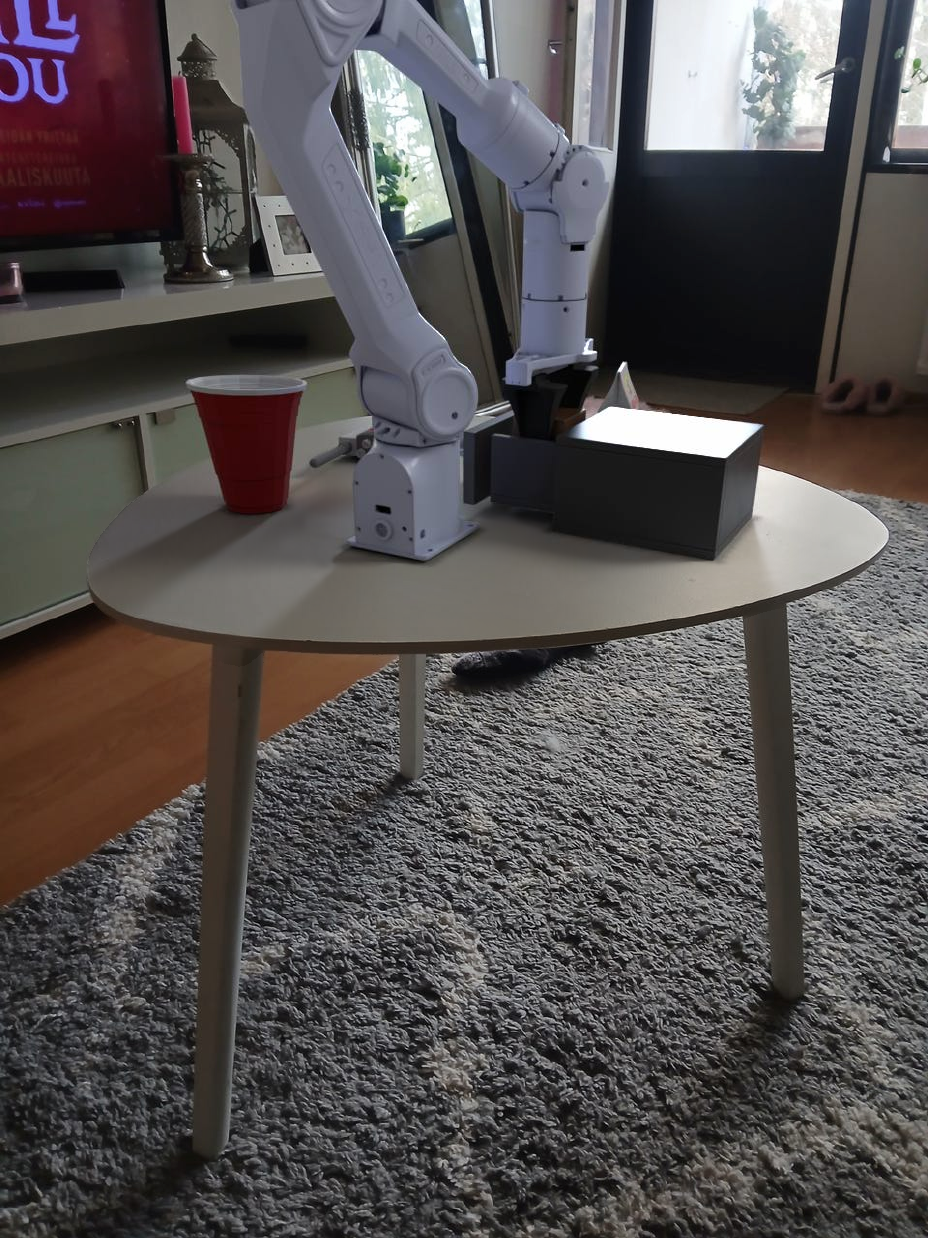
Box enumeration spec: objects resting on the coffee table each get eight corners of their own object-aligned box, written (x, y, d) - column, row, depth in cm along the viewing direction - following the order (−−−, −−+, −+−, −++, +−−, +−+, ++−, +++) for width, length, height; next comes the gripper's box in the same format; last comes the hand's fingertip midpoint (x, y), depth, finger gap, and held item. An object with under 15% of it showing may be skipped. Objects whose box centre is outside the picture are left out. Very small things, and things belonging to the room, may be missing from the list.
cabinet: (551, 531, 86) (555, 435, 82) (604, 493, 96) (609, 406, 92) (714, 560, 79) (726, 458, 76) (752, 516, 89) (764, 424, 86)
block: (562, 475, 88) (564, 420, 85) (512, 467, 90) (513, 414, 88) (583, 462, 91) (586, 409, 89) (535, 455, 94) (537, 403, 92)
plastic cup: (336, 495, 95) (329, 371, 90) (273, 529, 86) (262, 393, 81) (245, 482, 99) (233, 363, 94) (176, 513, 90) (159, 383, 85)
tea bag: (594, 465, 105) (600, 371, 101) (602, 449, 111) (607, 360, 107) (628, 467, 104) (635, 373, 100) (634, 451, 110) (641, 362, 106)
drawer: (424, 496, 92) (423, 425, 89) (480, 467, 101) (481, 402, 98) (598, 527, 84) (603, 450, 81) (642, 492, 93) (648, 422, 90)
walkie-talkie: (386, 432, 118) (303, 476, 101) (384, 396, 116) (300, 434, 99) (452, 439, 115) (379, 485, 98) (452, 401, 113) (377, 442, 96)
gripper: (563, 309, 77) (555, 475, 82) (627, 291, 88) (616, 438, 94) (484, 304, 80) (482, 464, 86) (556, 287, 91) (550, 429, 97)
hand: (548, 450), depth 90 cm, fingers closed on block, 5 cm apart
